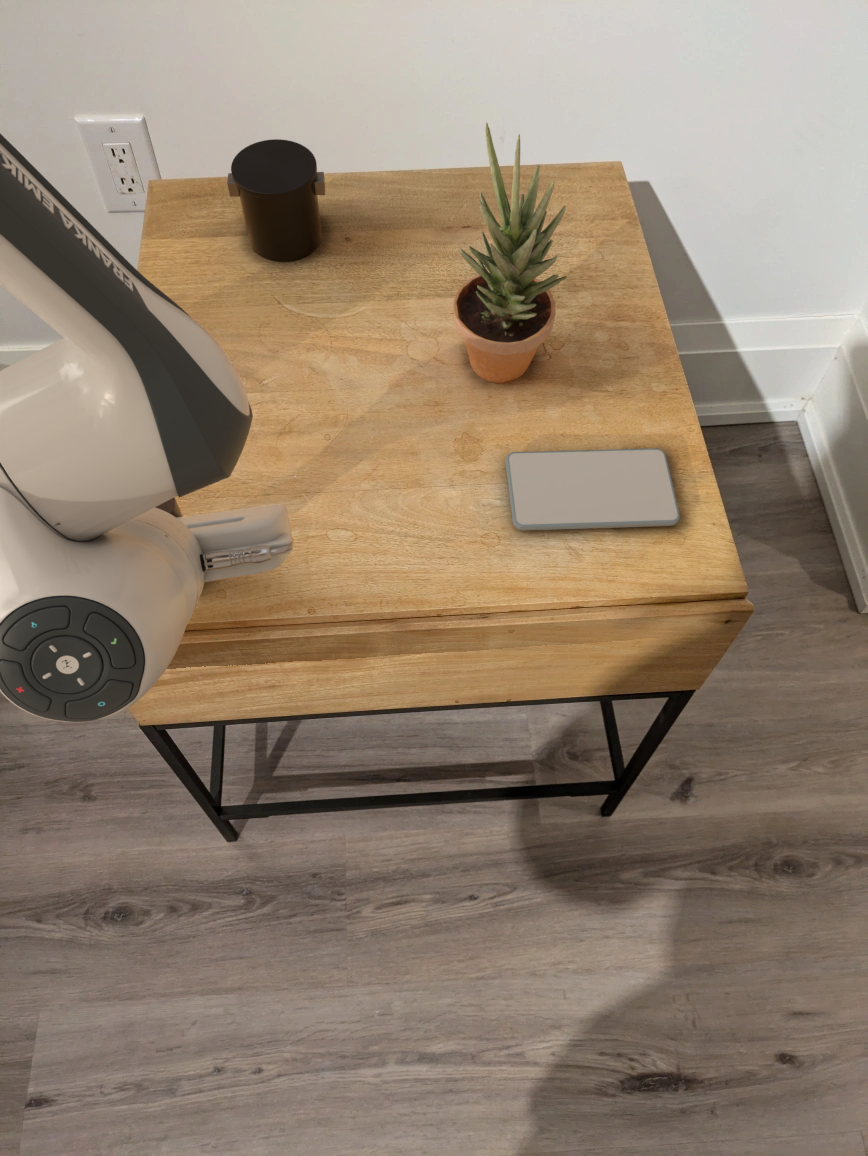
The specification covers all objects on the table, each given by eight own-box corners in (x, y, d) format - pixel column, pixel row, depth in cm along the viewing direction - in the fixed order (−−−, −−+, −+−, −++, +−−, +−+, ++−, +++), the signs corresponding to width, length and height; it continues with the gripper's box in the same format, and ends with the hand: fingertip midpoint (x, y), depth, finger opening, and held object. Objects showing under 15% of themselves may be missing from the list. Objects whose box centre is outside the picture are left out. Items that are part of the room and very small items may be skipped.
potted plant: (440, 335, 86) (447, 98, 65) (528, 318, 87) (564, 81, 66) (467, 409, 82) (485, 181, 60) (560, 390, 83) (610, 160, 61)
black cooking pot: (238, 265, 91) (221, 194, 83) (243, 211, 95) (228, 139, 87) (329, 263, 91) (321, 192, 83) (330, 210, 95) (323, 138, 88)
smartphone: (682, 522, 75) (514, 527, 74) (679, 528, 75) (512, 533, 75) (664, 446, 79) (504, 450, 78) (662, 453, 79) (503, 457, 79)
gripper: (285, 504, 55) (289, 472, 68) (-41, 551, 53) (28, 509, 66) (300, 596, 57) (302, 547, 70) (-14, 645, 55) (48, 585, 68)
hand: (167, 529), depth 68 cm, fingers closed on walnut pestle, 3 cm apart
